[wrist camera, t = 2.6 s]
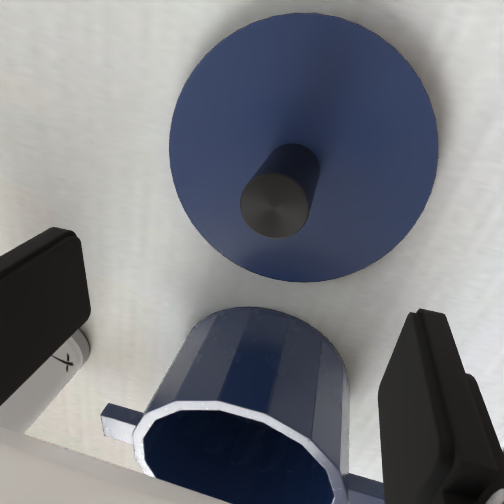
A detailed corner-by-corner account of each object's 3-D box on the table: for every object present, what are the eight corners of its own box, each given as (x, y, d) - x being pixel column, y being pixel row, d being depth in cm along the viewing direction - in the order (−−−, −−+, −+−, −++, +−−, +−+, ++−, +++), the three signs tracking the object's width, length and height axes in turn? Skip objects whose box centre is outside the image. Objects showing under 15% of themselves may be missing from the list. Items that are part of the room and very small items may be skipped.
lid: (175, 1, 19) (97, -20, 13) (481, 31, 16) (550, 21, 11) (177, 249, 26) (128, 305, 20) (389, 293, 24) (400, 371, 18)
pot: (151, 281, 28) (81, 362, 21) (408, 340, 25) (429, 459, 18) (157, 398, 35) (106, 489, 28) (359, 455, 32) (361, 574, 25)
